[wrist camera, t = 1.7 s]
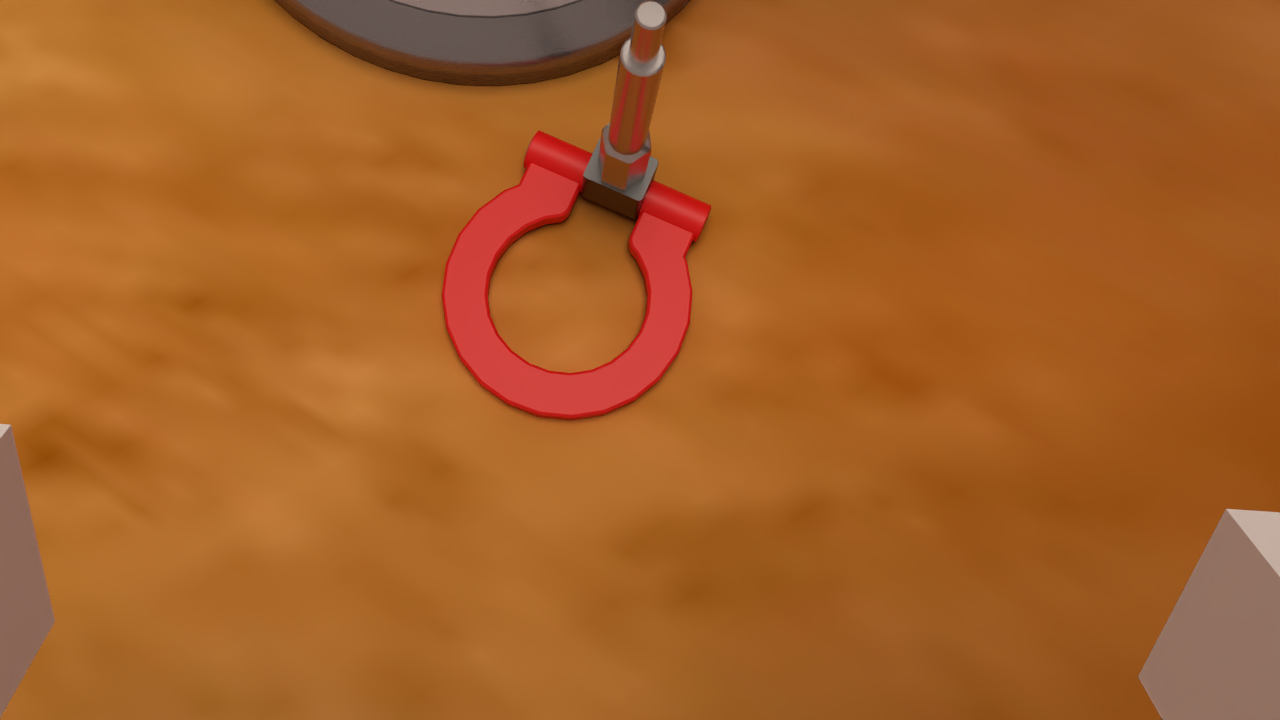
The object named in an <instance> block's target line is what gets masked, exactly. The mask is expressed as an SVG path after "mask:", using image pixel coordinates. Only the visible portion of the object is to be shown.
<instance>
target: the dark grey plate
mask: <svg viewBox="0 0 1280 720" xmlns="http://www.w3.org/2000/svg"><path fill="white" fill-rule="evenodd" d="M276 1H277V2H278V3H279V4H280V5H281V6H282V7H283V8H284V9H285V10H286V11H287V12H288V13H289V14H290V15H291V16H292V17H294V18H295V19H296V20H298V21H299V22H301V23H302V24H303V25H305V26H306V27H307V28H309V29H310V30H311V31H313V32H314V33H316V34H317V35H318V36H320V37H321V38H323V39H324V40H326V41H328V42H330V43H332V44H333V45H335V46H337V47H339V48H341V49H342V50H344V51H346V52H348V53H350V54H351V55H353V56H356V57H358V58H361V59H363V60H365V61H368V62H370V63H373V64H375V65H378V66H380V67H383V68H385V69H388V70H391V71H395V72H399V73H402V74H406V75H410V76H413V77H417V78H421V79H425V80H432V81H438V82H445V83H452V84H459V85H486V86H501V85H512V84H523V83H534V82H539V81H543V80H548V79H552V78H557V77H562V76H566V75H570V74H573V73H576V72H579V71H582V70H584V69H587V68H590V67H593V66H596V65H599V64H602V63H604V62H606V61H608V60H610V59H612V58H614V57H616V56H618V55H620V51H621V48H622V46H623V44H624V43H625V41H626V40H627V39H629V38H630V37H631V34H632V28H633V22H634V16H635V11H636V8H637V7H638V5H639V4H641V3H642V2H644V1H656V2H658V3H660V4H661V5H662V6H663V7H664V8H665V10H666V13H667V19H666V23H667V22H669V21H670V20H671V19H672V18H673V17H674V16H675V15H676V14H677V13H679V12H680V11H681V10H682V9H683V8H684V7H685V6H686V5H687V3H688V2H689V1H690V0H276ZM666 23H665V24H666Z"/></svg>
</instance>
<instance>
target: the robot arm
mask: <svg viewBox="0 0 1280 720" xmlns="http://www.w3.org/2000/svg"><path fill="white" fill-rule="evenodd" d="M54 622H55V619H54V615H53V610H52V606H51V601H50V597H49V592H48V588H47V584H46V579H45V575H44V570H43V566H42V561H41V557H40V552H39V548H38V543H37V539H36V534H35V530H34V525H33V521H32V517H31V512H30V508H29V503H28V499H27V494H26V490H25V485H24V481H23V476H22V472H21V467H20V463H19V458H18V454H17V450H16V445H15V441H14V436H13V432H12V427H11V425H7V424H0V717H1V716H2V714H3V712H4V710H5V709H6V707H7V705H8V703H9V701H10V700H11V698H12V696H13V694H14V693H15V691H16V689H17V687H18V686H19V684H20V682H21V680H22V678H23V677H24V675H25V673H26V671H27V670H28V668H29V666H30V664H31V663H32V661H33V659H34V657H35V656H36V654H37V652H38V650H39V648H40V647H41V645H42V643H43V641H44V640H45V638H46V636H47V634H48V633H49V631H50V629H51V627H52V625H53V624H54ZM1138 678H1139V679H1140V681H1141V683H1142V685H1143V687H1144V688H1145V690H1146V692H1147V694H1148V695H1149V697H1150V699H1151V701H1152V702H1153V704H1154V706H1155V708H1156V710H1157V711H1158V713H1159V715H1160V717H1161V718H1162V720H1280V513H1279V512H1264V511H1250V510H1236V509H1226V510H1225V512H1224V513H1223V515H1222V517H1221V519H1220V521H1219V523H1218V525H1217V527H1216V529H1215V531H1214V533H1213V535H1212V536H1211V538H1210V540H1209V542H1208V544H1207V546H1206V548H1205V550H1204V552H1203V554H1202V556H1201V557H1200V559H1199V561H1198V563H1197V565H1196V567H1195V569H1194V571H1193V573H1192V575H1191V577H1190V578H1189V580H1188V582H1187V584H1186V586H1185V588H1184V590H1183V592H1182V594H1181V596H1180V598H1179V599H1178V601H1177V603H1176V605H1175V607H1174V609H1173V611H1172V613H1171V615H1170V617H1169V619H1168V620H1167V622H1166V624H1165V626H1164V628H1163V630H1162V632H1161V634H1160V636H1159V638H1158V640H1157V641H1156V643H1155V645H1154V647H1153V649H1152V651H1151V653H1150V655H1149V657H1148V659H1147V661H1146V663H1145V664H1144V666H1143V668H1142V670H1141V672H1140V674H1139V676H1138Z"/></svg>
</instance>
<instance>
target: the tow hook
mask: <svg viewBox="0 0 1280 720" xmlns="http://www.w3.org/2000/svg"><path fill="white" fill-rule="evenodd" d="M666 19H667V13H666V10H665V8H664V7H663V6H662V5H661V4H660V3H658V2H656V1H644V2H642V3H641V4H639V5H638V7H637V8H636V11H635V16H634V22H633V28H632V34H631V37H630V38H629V39H627V40H626V41H625V43H624V44H623V46H622V48H621V51H620V58H619V65H618V72H617V78H616V85H615V92H614V99H613V106H612V112H611V119H610V123H609V124H608V125H606V126H605V127H604V128H603V129H602V134H601V138H600V139H599V141H598V144H597V146H596V148H595V150H594V152H593V154H592V153H589V152H587V151H585V150H583V149H580V148H578V147H576V146H573V145H571V144H569V143H567V142H564V141H562V140H560V139H557V138H555V137H553V136H550V135H548V134H546V133H544V132H541V131H538V132H537V133H536V134H535V136H534V137H533V139H532V140H531V142H530V144H529V146H528V149H527V152H526V155H525V160H524V168H526V171H525V173H524V175H523V177H522V179H521V181H520V183H519V185H517V186H514V187H512V188H509V189H507V190H504V191H503V192H501V193H500V194H499V195H497V196H496V197H495V198H493V199H492V200H491V201H489V202H488V203H487V204H485V205H484V206H483V207H481V208H480V209H479V210H478V211H477V212H476V213H475V215H474V216H473V217H472V218H471V220H470V221H469V222H468V223H467V225H466V226H465V227H464V228H463V230H462V231H461V232H460V233H459V235H458V237H457V239H456V242H455V244H454V247H453V249H452V251H451V254H450V256H449V258H448V261H447V263H446V269H445V276H444V284H443V291H442V300H443V307H444V314H445V321H446V328H447V330H448V332H449V335H450V337H451V339H452V341H453V344H454V346H455V348H456V351H457V353H458V355H459V357H460V360H461V361H462V363H463V364H464V365H465V366H466V368H467V369H468V370H469V371H470V372H471V374H472V375H473V376H474V377H475V379H476V380H477V381H478V382H479V384H480V385H481V386H482V387H484V388H485V389H487V390H488V391H489V392H491V393H492V394H493V395H495V396H496V397H498V398H499V399H500V400H502V401H503V402H505V403H506V404H507V405H510V406H512V407H515V408H517V409H520V410H523V411H525V412H528V413H530V414H533V415H536V416H538V417H547V418H557V419H566V420H574V419H581V418H587V417H594V416H600V415H605V414H607V413H609V412H611V411H614V410H616V409H618V408H620V407H623V406H625V405H627V404H629V403H632V402H634V401H635V400H636V399H637V398H639V397H640V396H641V395H642V394H643V393H645V392H646V391H647V390H648V389H650V388H651V387H652V386H653V385H655V384H656V383H657V382H658V381H659V380H660V378H661V377H662V376H663V374H664V373H665V371H666V370H667V369H668V367H669V366H670V364H671V363H672V362H673V360H674V359H675V357H676V356H677V355H678V353H679V350H680V348H681V345H682V342H683V340H684V337H685V334H686V332H687V329H688V326H689V324H690V313H691V302H692V287H691V281H690V276H689V270H688V265H687V260H686V258H685V256H686V254H687V251H688V249H689V247H690V245H691V242H692V241H693V242H696V241H697V240H698V238H699V236H700V233H701V231H702V229H703V227H704V224H705V222H706V220H707V217H708V215H709V213H710V210H711V205H708V204H706V203H704V202H701V201H699V200H697V199H695V198H692V197H690V196H688V195H685V194H683V193H681V192H679V191H676V190H674V189H672V188H669V187H667V186H665V185H663V184H660V183H658V182H656V181H653V180H654V177H655V173H656V170H657V166H658V160H657V159H655V158H653V157H650V154H651V141H650V134H649V126H650V122H651V118H652V114H653V110H654V106H655V102H656V97H657V93H658V89H659V85H660V81H661V77H662V72H663V68H664V64H665V60H666V53H665V49H664V47H663V45H662V44H661V41H662V37H663V32H664V28H665V23H666ZM580 192H581V193H582V196H583V197H584V198H586V199H588V200H591V201H593V202H595V203H597V204H600V205H602V206H604V207H607V208H609V209H611V210H614V211H616V212H618V213H620V214H623V215H625V216H627V217H630V218H632V219H636V218H638V220H637V222H636V225H635V227H634V229H633V231H632V234H631V236H630V238H629V242H628V246H629V251H630V253H631V254H632V255H633V256H634V258H635V259H636V261H637V263H638V265H639V268H640V270H641V272H642V274H643V276H644V281H645V287H646V292H647V305H646V315H645V319H644V322H643V324H642V327H641V329H640V332H639V333H638V335H637V336H636V338H635V339H634V340H633V342H632V343H631V344H630V346H629V347H628V348H627V349H626V350H625V351H624V352H622V353H621V354H620V355H619V356H617V357H616V358H615V359H614V360H612V361H611V362H609V363H607V364H604V365H602V366H600V367H597V368H595V369H593V370H589V371H582V372H575V373H564V372H554V371H548V370H545V369H543V368H540V367H538V366H535V365H532V364H530V363H528V362H527V361H525V360H524V359H522V358H521V357H520V356H518V355H517V354H516V353H514V352H513V351H512V350H511V349H510V348H509V347H508V346H507V344H506V343H505V342H504V341H503V339H502V338H501V337H500V336H499V334H498V332H497V330H496V328H495V326H494V323H493V321H492V319H491V316H490V310H489V303H488V294H489V286H490V279H491V276H492V274H493V271H494V269H495V267H496V264H497V262H498V260H499V259H500V257H501V256H502V255H503V253H504V252H505V251H506V250H507V248H508V247H509V246H510V244H512V243H513V242H514V241H516V240H517V239H518V238H520V237H521V236H522V235H524V234H525V233H526V232H528V231H531V230H533V229H535V228H538V227H540V226H543V225H545V224H551V223H559V222H562V221H564V220H565V219H567V218H568V217H569V214H570V212H571V210H572V208H573V206H574V204H575V201H576V199H577V197H578V195H579V193H580Z"/></svg>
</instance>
